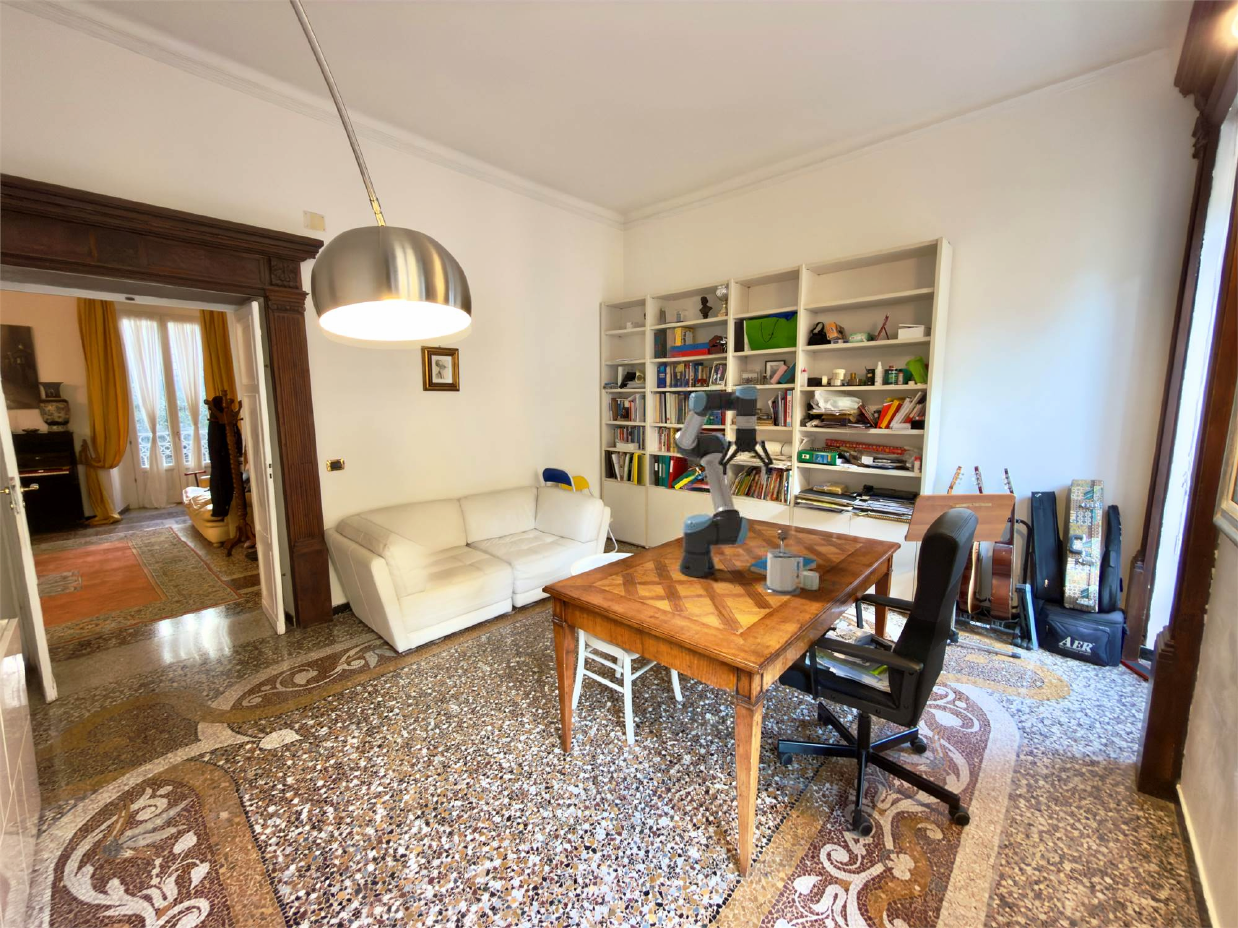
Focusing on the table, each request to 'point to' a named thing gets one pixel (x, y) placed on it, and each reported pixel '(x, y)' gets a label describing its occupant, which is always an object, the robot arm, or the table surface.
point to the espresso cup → (810, 580)
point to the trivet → (781, 593)
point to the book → (807, 564)
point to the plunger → (782, 538)
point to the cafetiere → (783, 570)
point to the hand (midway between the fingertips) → (744, 483)
